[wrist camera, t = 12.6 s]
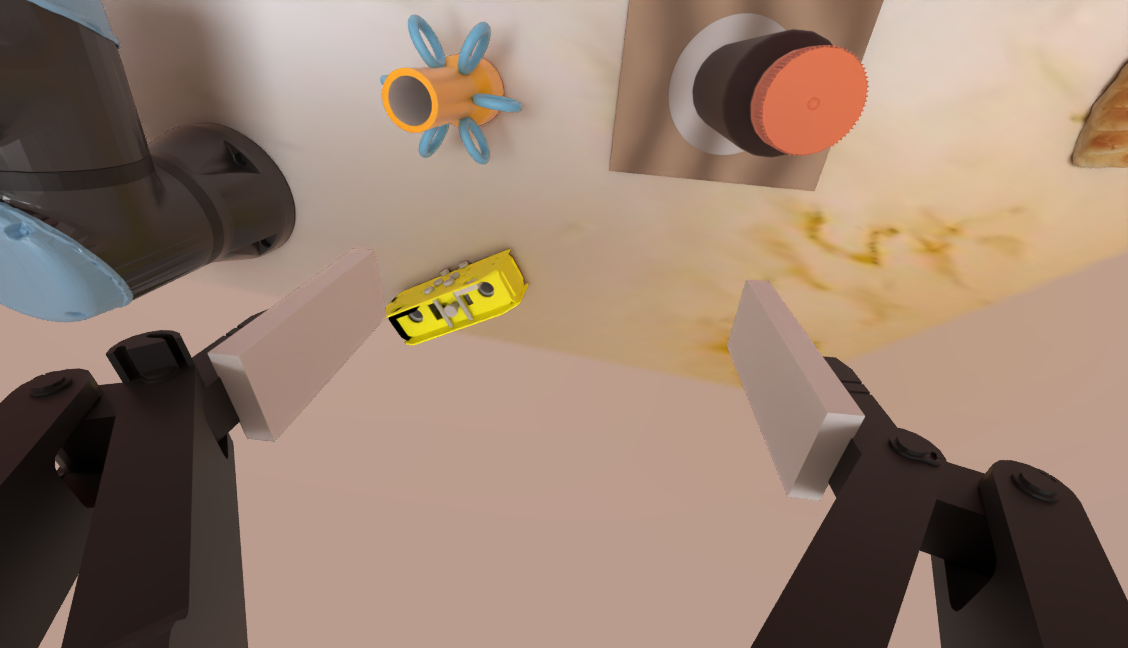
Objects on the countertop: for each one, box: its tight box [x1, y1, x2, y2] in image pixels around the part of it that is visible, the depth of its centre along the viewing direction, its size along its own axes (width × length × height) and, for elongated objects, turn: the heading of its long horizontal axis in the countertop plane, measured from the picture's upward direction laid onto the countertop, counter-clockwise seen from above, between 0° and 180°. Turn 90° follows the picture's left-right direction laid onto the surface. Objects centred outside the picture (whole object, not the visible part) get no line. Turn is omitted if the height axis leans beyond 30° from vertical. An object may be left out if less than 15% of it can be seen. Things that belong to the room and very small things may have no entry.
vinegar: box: [692, 29, 869, 158], centre depth 30 cm, size 7×7×20 cm
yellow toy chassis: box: [385, 249, 529, 346], centre depth 51 cm, size 16×6×8 cm, turn 114°
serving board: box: [609, 0, 884, 191], centre depth 39 cm, size 20×16×2 cm
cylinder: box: [380, 15, 522, 164], centre depth 37 cm, size 12×10×15 cm
